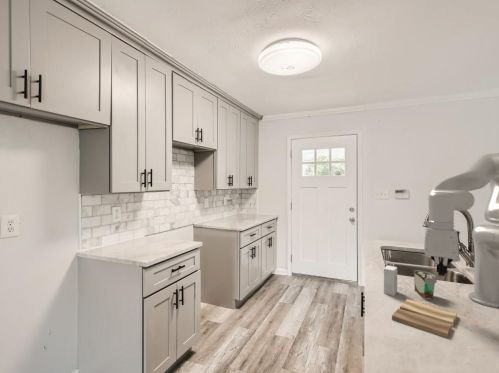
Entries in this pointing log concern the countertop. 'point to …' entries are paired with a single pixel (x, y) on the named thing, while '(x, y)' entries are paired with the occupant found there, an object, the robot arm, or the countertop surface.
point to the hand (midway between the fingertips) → (442, 274)
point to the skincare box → (390, 280)
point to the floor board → (422, 322)
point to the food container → (424, 284)
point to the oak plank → (429, 311)
